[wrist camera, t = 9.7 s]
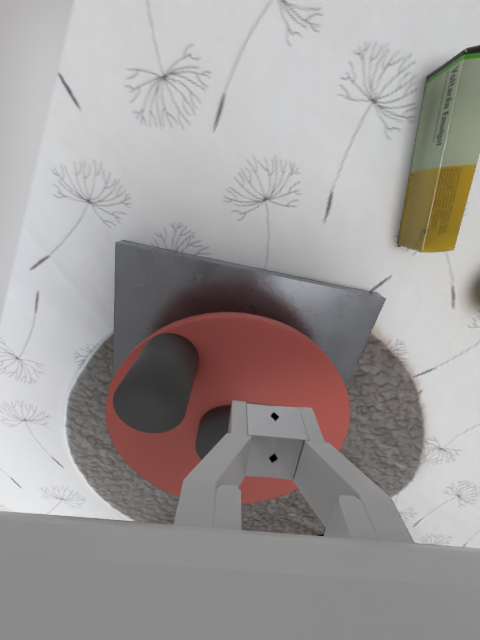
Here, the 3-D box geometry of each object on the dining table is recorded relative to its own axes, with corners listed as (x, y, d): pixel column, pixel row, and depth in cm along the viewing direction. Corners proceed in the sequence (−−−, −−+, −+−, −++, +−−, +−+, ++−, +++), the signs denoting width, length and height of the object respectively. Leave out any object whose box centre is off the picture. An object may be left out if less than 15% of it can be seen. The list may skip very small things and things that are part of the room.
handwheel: (376, 447, 24) (418, 520, 19) (198, 514, 28) (187, 592, 23) (279, 260, 17) (299, 287, 12) (60, 385, 21) (-4, 450, 16)
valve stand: (302, 464, 34) (315, 514, 29) (117, 437, 32) (91, 485, 27) (377, 293, 25) (417, 318, 19) (122, 240, 23) (85, 251, 17)
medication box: (422, 74, 19) (465, 43, 15) (462, 70, 19) (515, 38, 15) (394, 246, 24) (421, 254, 20) (425, 244, 23) (458, 252, 20)
